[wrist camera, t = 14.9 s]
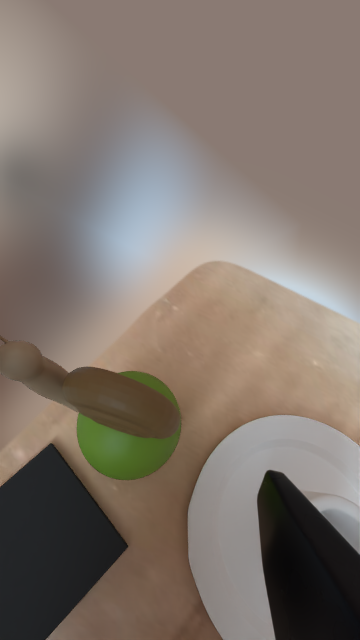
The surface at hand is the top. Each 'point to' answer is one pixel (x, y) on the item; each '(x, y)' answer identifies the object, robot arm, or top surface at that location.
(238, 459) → the candle holder
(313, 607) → the robot arm
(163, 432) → the snail figurine
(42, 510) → the coaster
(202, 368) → the top surface
